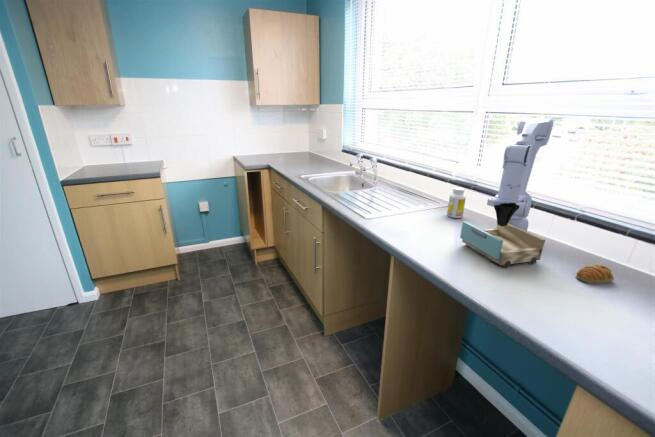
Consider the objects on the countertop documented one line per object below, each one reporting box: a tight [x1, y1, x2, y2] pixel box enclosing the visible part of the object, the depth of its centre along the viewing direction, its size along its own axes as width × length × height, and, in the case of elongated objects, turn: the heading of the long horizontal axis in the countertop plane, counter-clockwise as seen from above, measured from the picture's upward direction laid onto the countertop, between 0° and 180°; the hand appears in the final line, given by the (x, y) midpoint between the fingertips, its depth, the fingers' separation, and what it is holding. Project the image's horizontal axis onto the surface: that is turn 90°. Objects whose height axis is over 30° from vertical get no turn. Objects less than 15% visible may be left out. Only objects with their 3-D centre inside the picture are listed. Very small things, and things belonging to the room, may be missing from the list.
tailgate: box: [459, 221, 503, 259], centre depth 101 cm, size 2×17×6 cm, turn 15°
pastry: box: [576, 264, 615, 285], centre depth 91 cm, size 9×7×4 cm
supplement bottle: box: [446, 186, 467, 219], centre depth 140 cm, size 7×7×13 cm
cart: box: [461, 223, 546, 269], centre depth 104 cm, size 15×18×8 cm
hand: (501, 225), depth 102 cm, fingers closed
